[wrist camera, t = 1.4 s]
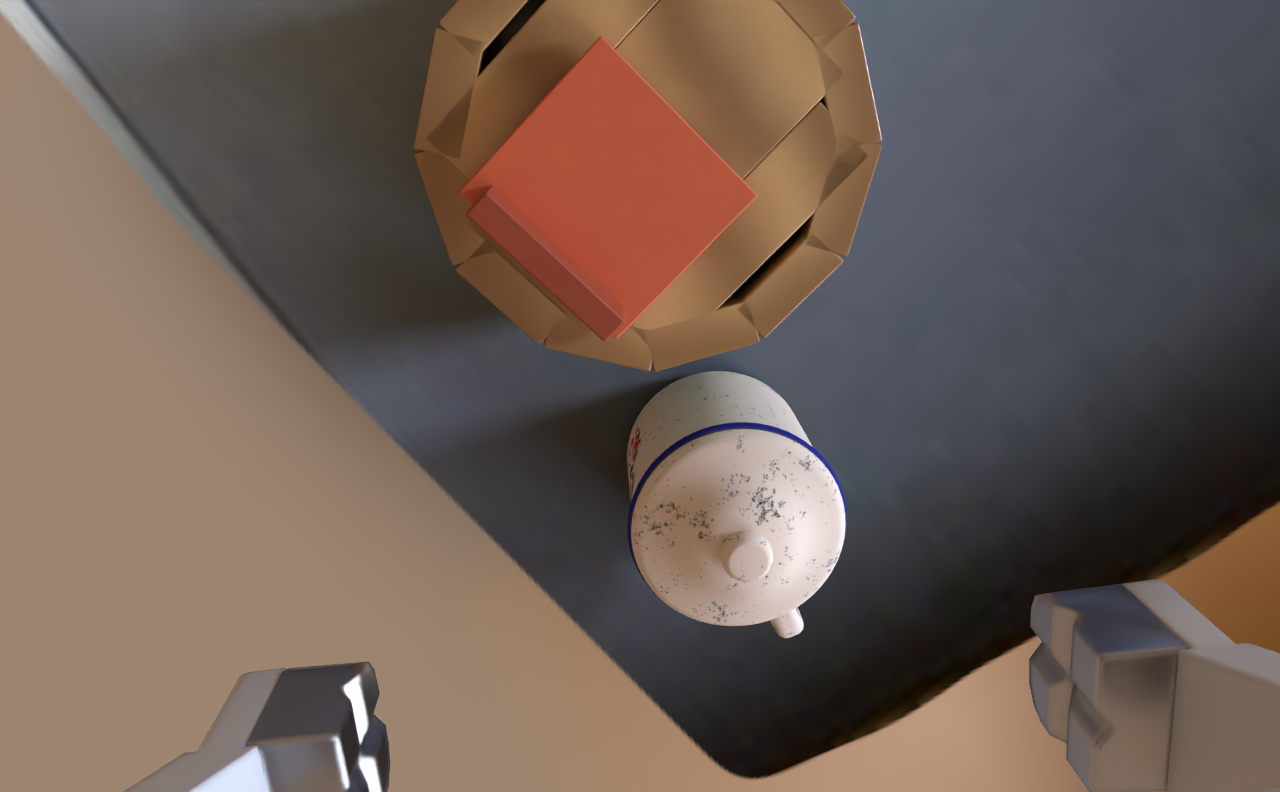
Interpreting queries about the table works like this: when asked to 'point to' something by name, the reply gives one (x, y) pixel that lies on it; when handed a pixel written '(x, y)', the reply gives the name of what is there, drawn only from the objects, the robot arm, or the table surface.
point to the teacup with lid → (731, 503)
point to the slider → (605, 193)
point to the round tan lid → (715, 109)
